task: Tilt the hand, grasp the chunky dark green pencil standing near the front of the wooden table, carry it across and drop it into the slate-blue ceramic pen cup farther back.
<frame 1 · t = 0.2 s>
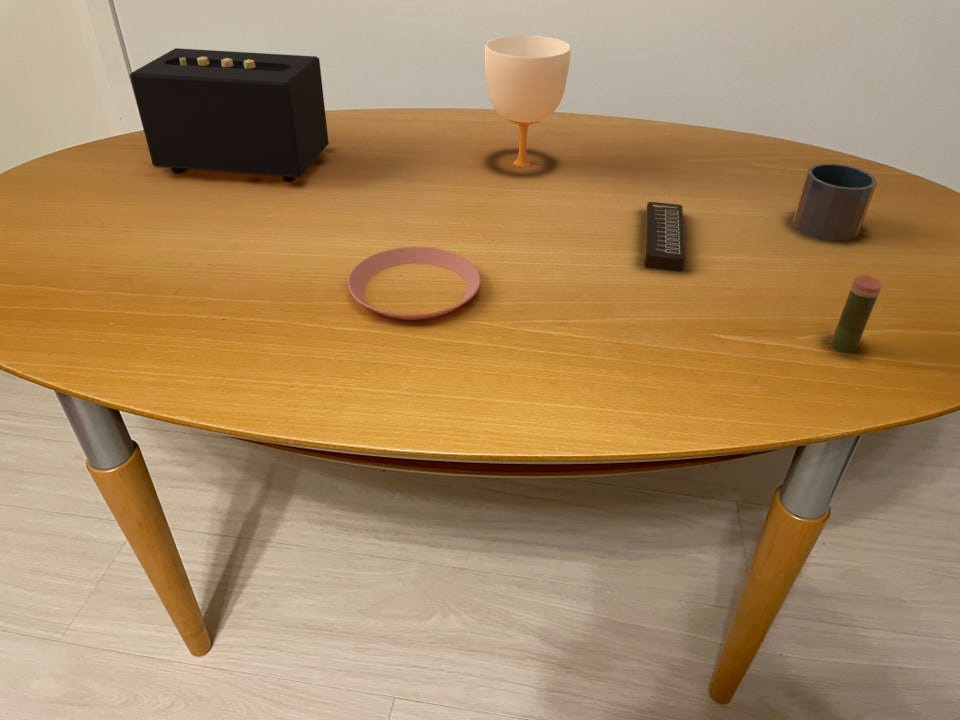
pencil: (841, 350, 74), on the table
ring: (415, 295, 81), on the table
speaker: (246, 166, 109), on the table
pen cup: (823, 231, 95), on the table
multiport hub: (661, 246, 91), on the table
cup: (521, 168, 110), on the table
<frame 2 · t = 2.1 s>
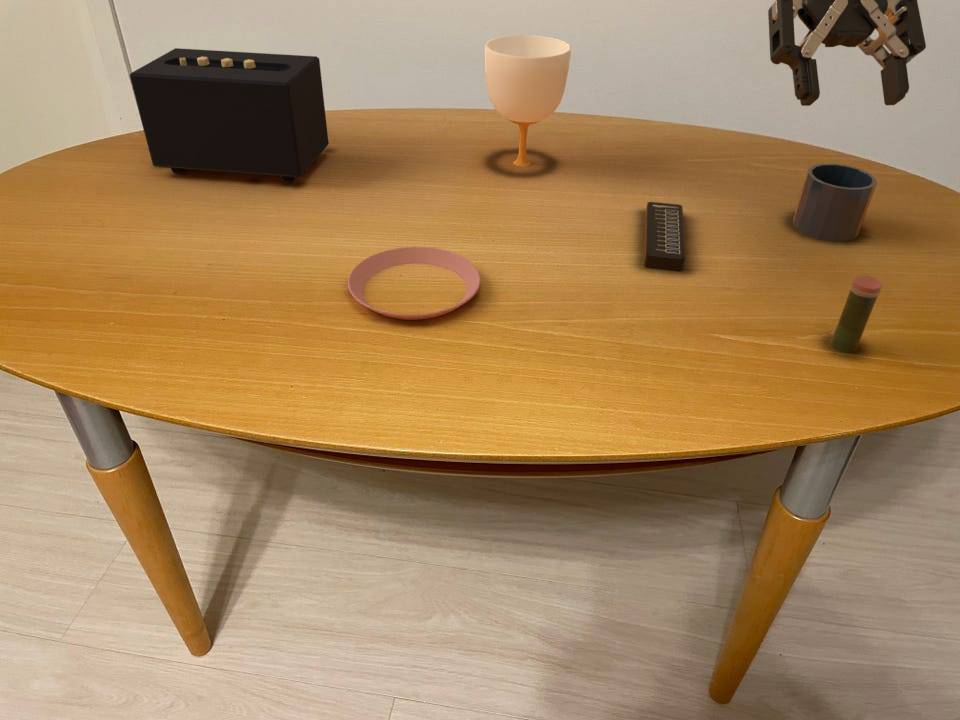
hand: (853, 102, 70), 21 cm above the table, tool tilted 45°, fingers open, 8 cm apart
nothing on the table moved.
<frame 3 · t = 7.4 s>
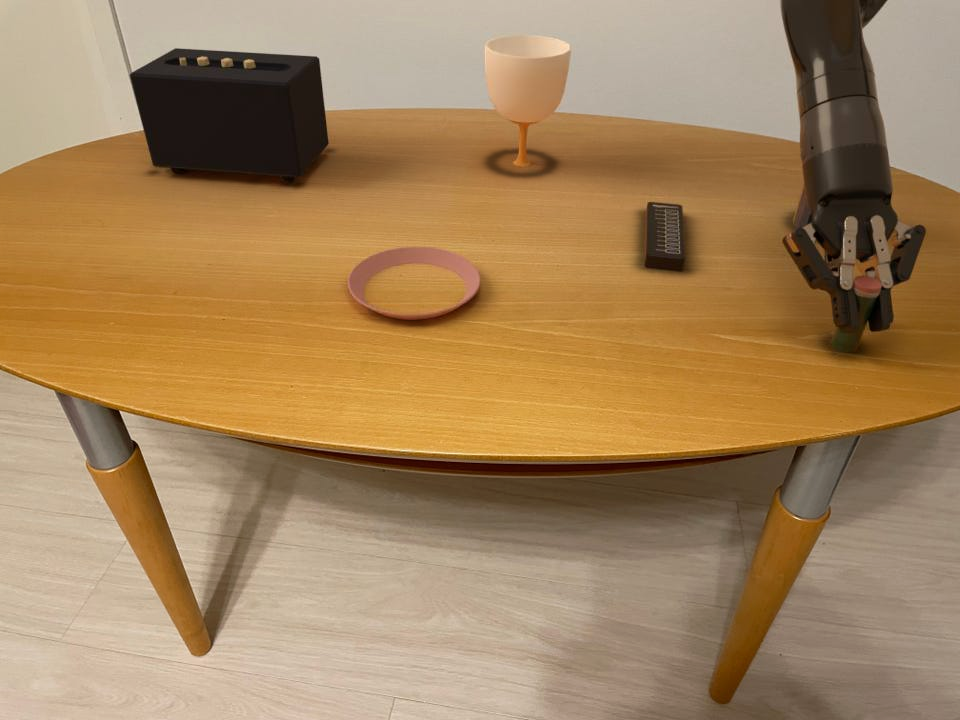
hand: (865, 330, 70), 4 cm above the table, tool tilted 45°, fingers closed on pencil, 2 cm apart
pencil: (841, 350, 74), on the table, touching gripper
everything else where it was.
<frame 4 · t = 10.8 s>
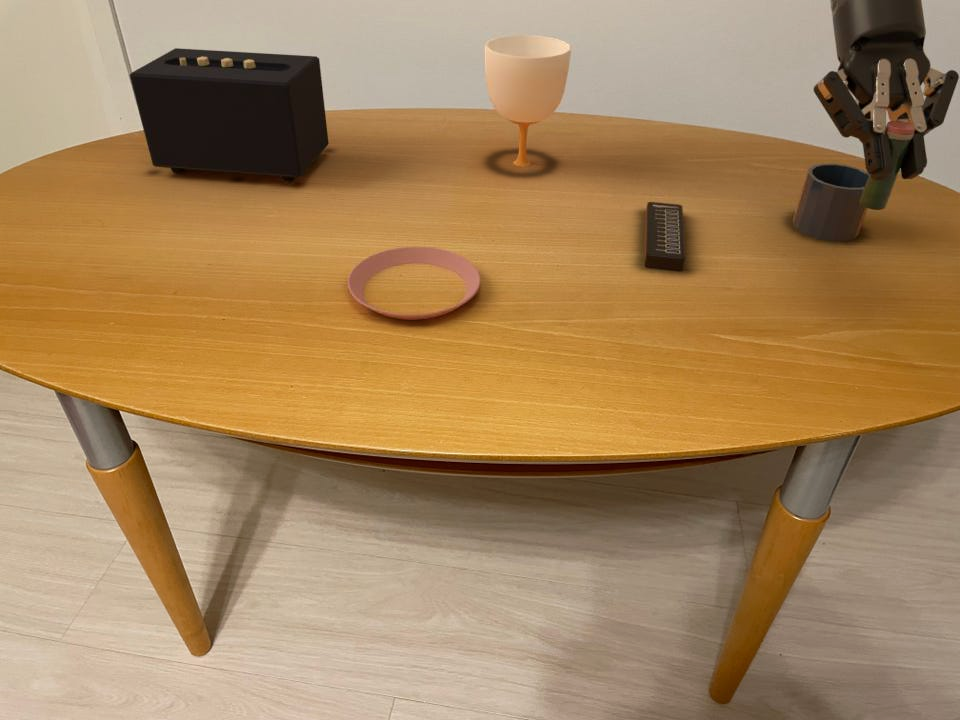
hand: (898, 175, 69), 16 cm above the table, tool tilted 45°, fingers closed on pencil, 2 cm apart
pencil: (872, 205, 73), point 12 cm above the table, touching gripper
everything else where it was.
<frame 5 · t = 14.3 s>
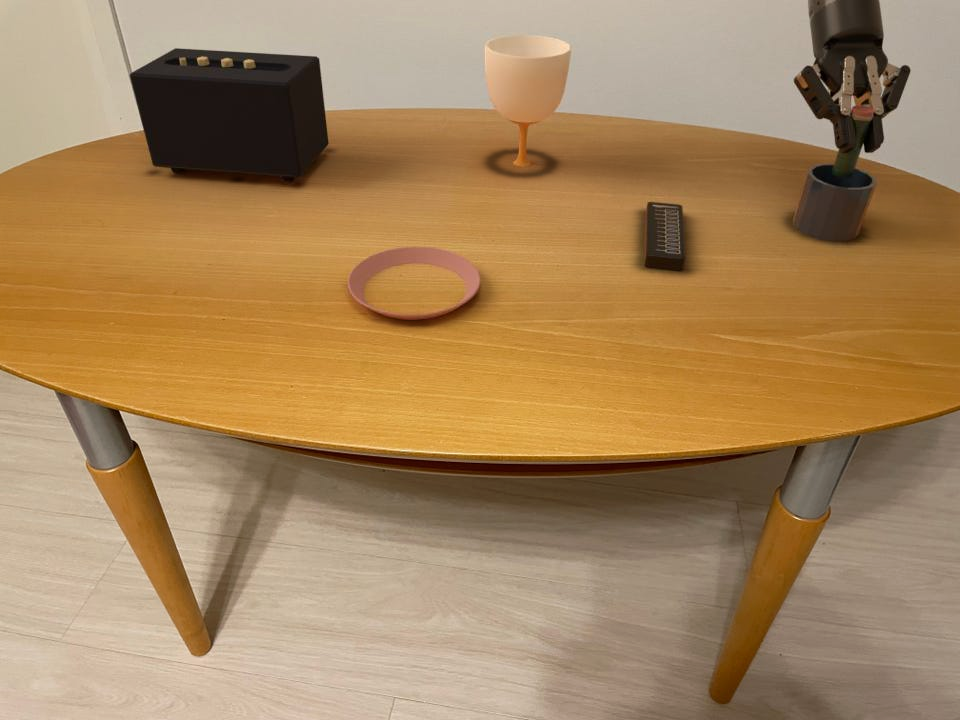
hand: (860, 149, 86), 12 cm above the table, tool tilted 45°, fingers closed on pencil, 2 cm apart
pencil: (841, 174, 90), point 8 cm above the table, touching gripper
everything else where it was.
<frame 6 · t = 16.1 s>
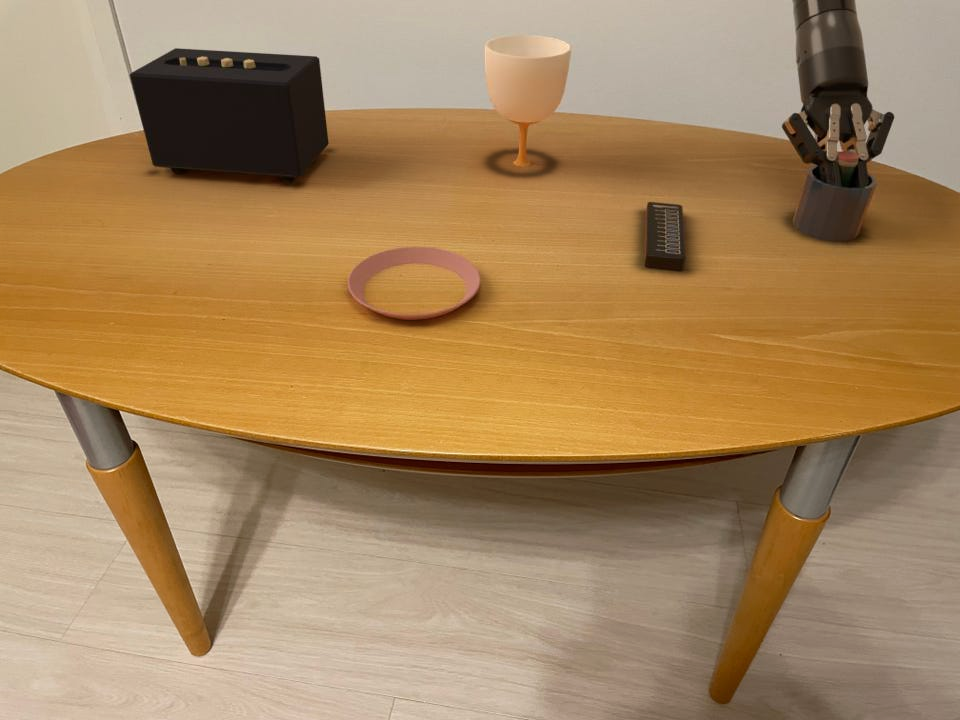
hand: (846, 193, 89), 6 cm above the table, tool tilted 45°, fingers closed on pencil, 2 cm apart
pencil: (828, 215, 93), point 2 cm above the table, touching gripper
everything else where it was.
when the fingers open (8 cm above the table, at t = 21.1 s): pencil drops 3 cm, resting on pen cup.
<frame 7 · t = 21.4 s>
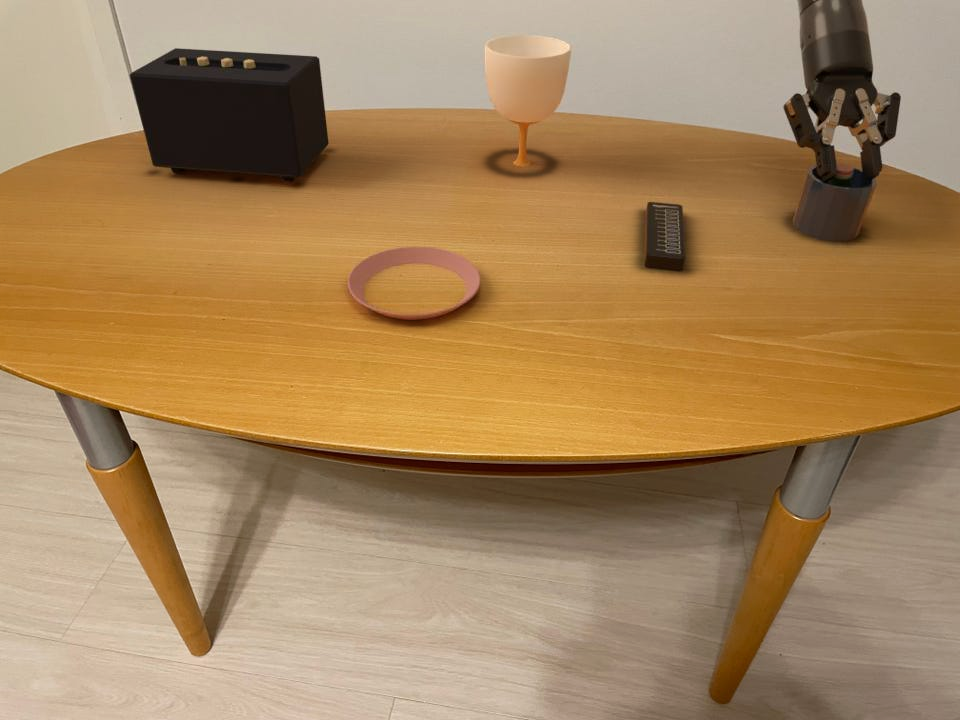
hand: (851, 177, 88), 8 cm above the table, tool tilted 45°, fingers open, 4 cm apart
pencil: (825, 226, 94), point 1 cm above the table, touching pen cup
everything else where it was.
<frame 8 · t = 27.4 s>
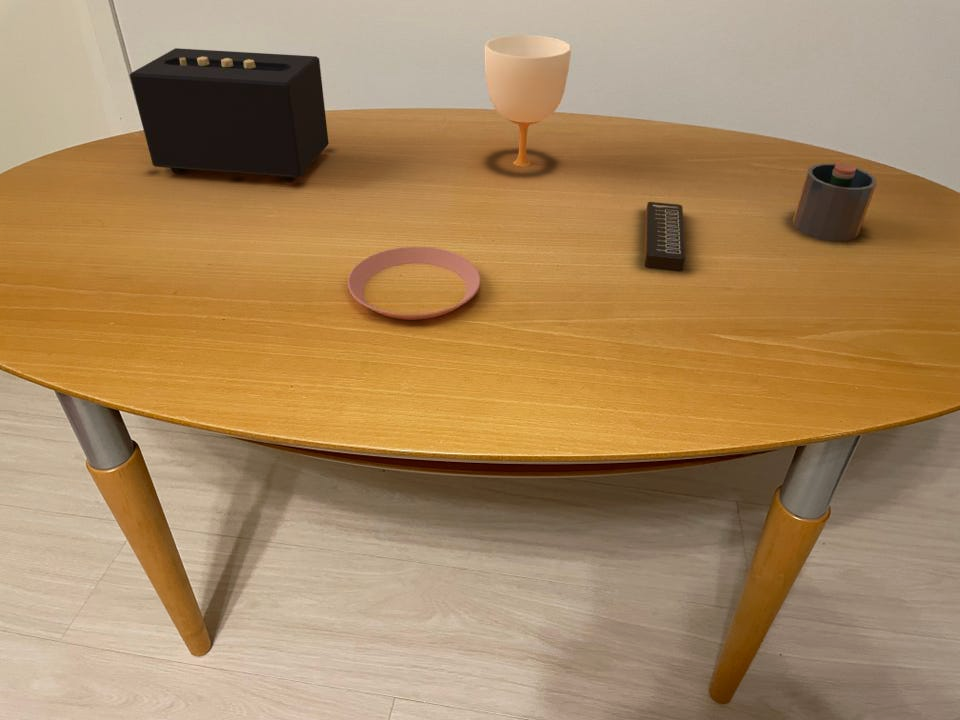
nothing on the table moved.
at the end: pencil inside the target area in the pen cup (0.1 cm from its centre), point 0.6 cm above the pen cup's base; the gripper is holding nothing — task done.
